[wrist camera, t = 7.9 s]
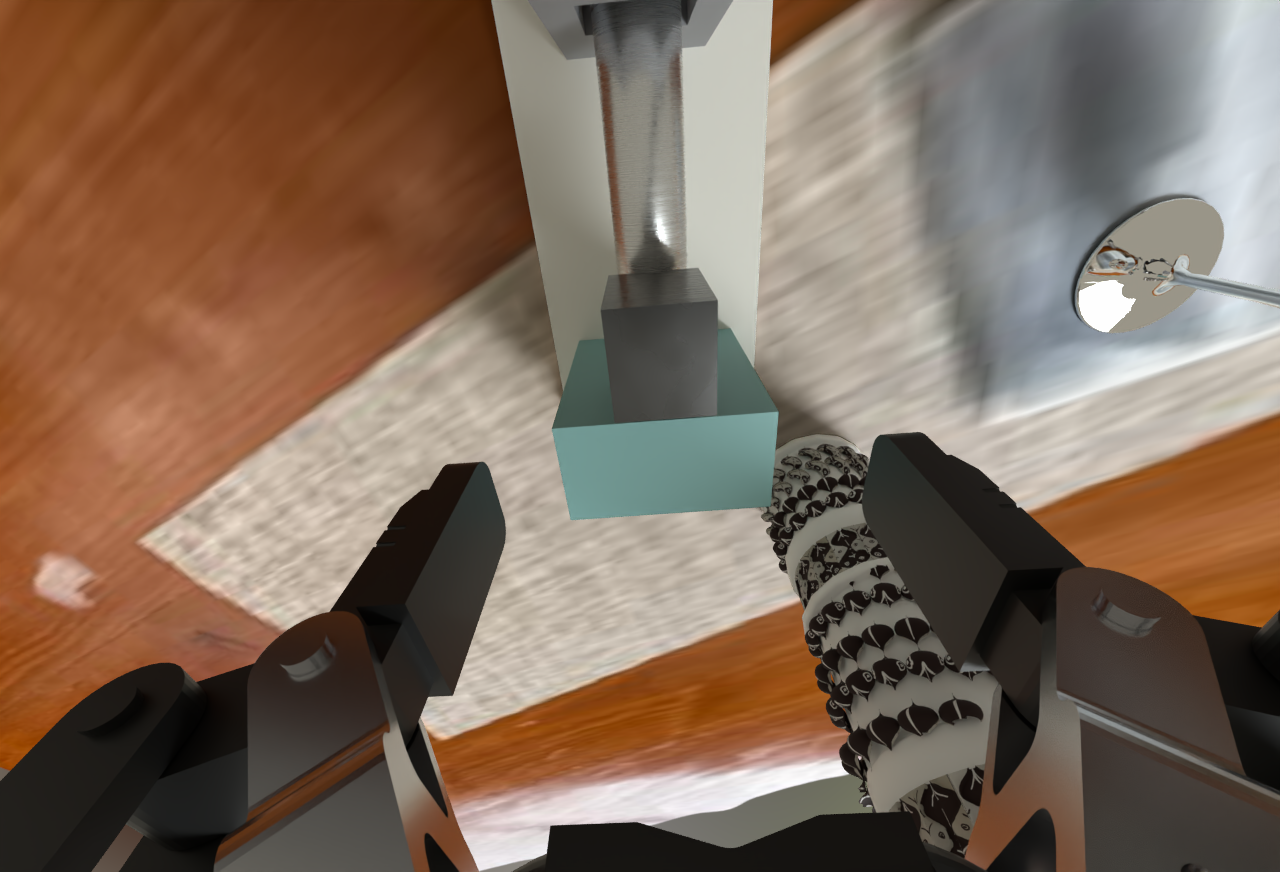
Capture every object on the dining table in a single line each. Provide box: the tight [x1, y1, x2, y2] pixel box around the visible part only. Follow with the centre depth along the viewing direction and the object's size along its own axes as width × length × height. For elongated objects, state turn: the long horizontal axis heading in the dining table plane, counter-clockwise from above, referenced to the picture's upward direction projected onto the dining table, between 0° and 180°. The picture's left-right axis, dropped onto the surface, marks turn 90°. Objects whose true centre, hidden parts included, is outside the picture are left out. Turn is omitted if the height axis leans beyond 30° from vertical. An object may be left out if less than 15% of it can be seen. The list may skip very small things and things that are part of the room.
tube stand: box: [491, 0, 773, 391], centre depth 18 cm, size 32×12×11 cm, turn 5°
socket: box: [552, 328, 779, 520], centre depth 24 cm, size 5×9×10 cm, turn 95°
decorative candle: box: [761, 434, 998, 859], centre depth 24 cm, size 9×9×25 cm
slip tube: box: [590, 0, 718, 423], centre depth 16 cm, size 21×4×8 cm, turn 5°
